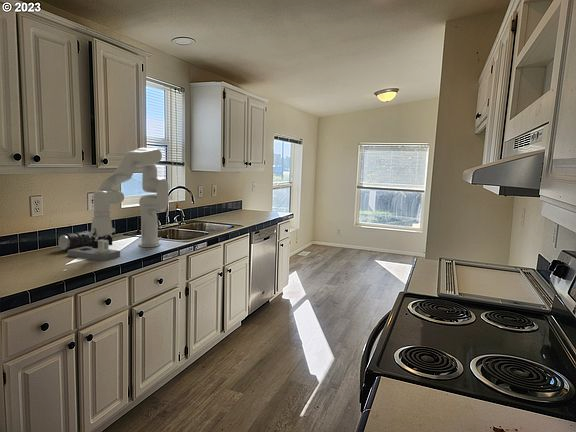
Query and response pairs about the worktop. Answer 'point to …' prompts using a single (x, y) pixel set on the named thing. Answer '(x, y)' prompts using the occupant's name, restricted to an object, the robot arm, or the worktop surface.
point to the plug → (103, 246)
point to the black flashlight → (76, 240)
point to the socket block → (93, 253)
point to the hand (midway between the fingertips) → (102, 246)
